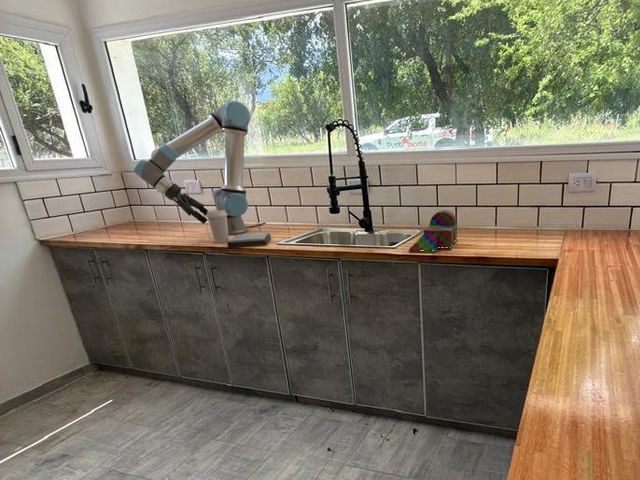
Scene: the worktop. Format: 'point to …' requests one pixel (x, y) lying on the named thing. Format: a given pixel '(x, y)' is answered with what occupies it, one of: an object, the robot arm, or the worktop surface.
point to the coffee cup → (218, 225)
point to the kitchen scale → (249, 240)
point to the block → (437, 234)
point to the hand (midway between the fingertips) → (209, 219)
